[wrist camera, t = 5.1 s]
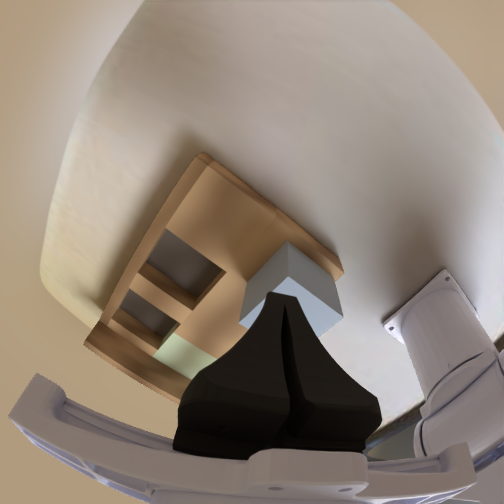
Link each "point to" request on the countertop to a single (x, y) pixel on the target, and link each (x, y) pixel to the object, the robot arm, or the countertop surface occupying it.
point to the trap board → (194, 278)
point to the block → (294, 289)
